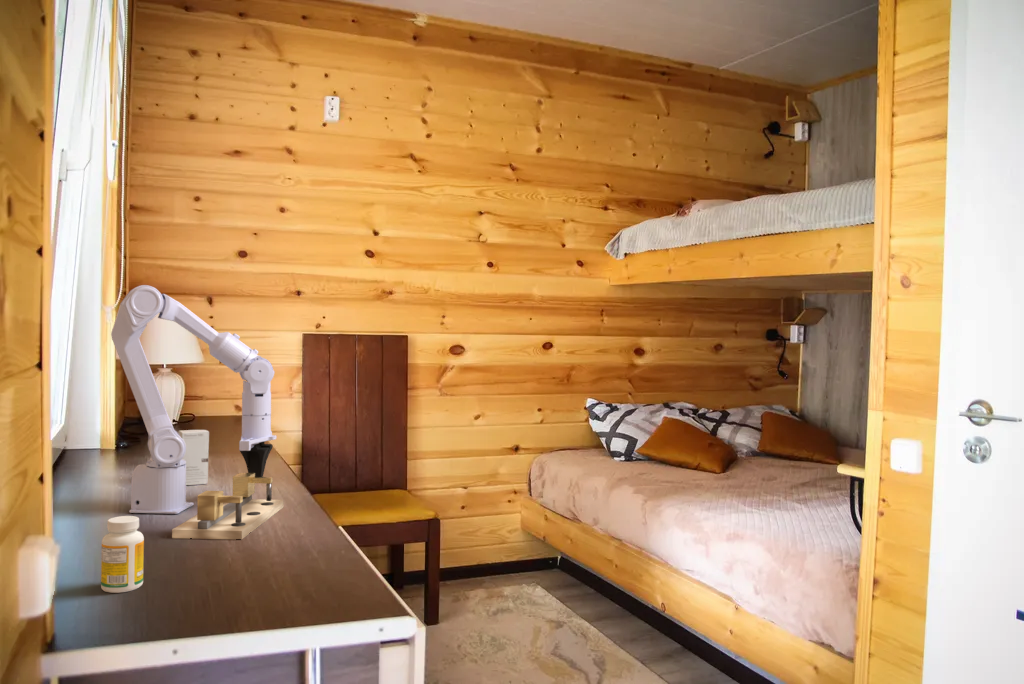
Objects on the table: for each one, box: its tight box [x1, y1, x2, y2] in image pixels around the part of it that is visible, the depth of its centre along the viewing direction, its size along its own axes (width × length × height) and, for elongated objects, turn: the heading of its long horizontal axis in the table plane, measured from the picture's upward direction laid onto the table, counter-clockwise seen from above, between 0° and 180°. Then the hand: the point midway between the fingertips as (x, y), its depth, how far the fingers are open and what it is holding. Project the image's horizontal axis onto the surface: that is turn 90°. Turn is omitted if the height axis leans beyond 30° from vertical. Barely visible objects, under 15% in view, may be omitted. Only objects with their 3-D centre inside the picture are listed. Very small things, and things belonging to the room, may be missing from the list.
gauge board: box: [171, 490, 284, 540], centre depth 149 cm, size 12×24×7 cm, turn 179°
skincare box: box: [177, 429, 210, 486], centre depth 182 cm, size 6×4×12 cm
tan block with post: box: [232, 472, 274, 501], centre depth 158 cm, size 7×4×5 cm, turn 89°
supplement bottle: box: [100, 515, 145, 594], centre depth 112 cm, size 5×5×10 cm
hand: (256, 480), depth 165 cm, fingers closed
